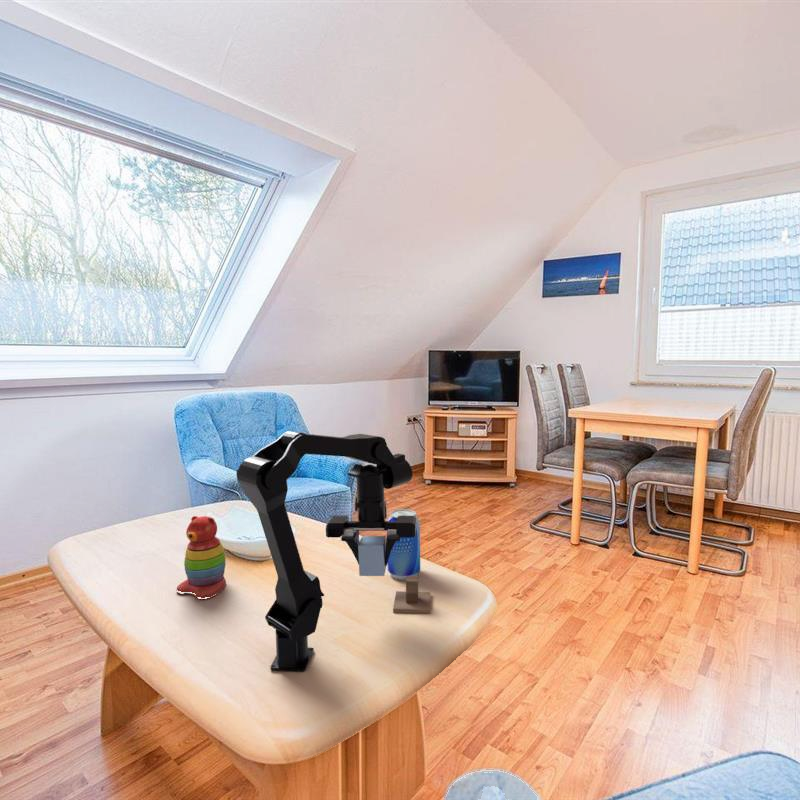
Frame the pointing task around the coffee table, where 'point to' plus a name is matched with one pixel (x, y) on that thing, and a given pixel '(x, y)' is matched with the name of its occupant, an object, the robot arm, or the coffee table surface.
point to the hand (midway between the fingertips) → (373, 564)
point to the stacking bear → (203, 559)
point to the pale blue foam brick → (372, 555)
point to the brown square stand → (412, 598)
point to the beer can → (405, 550)
